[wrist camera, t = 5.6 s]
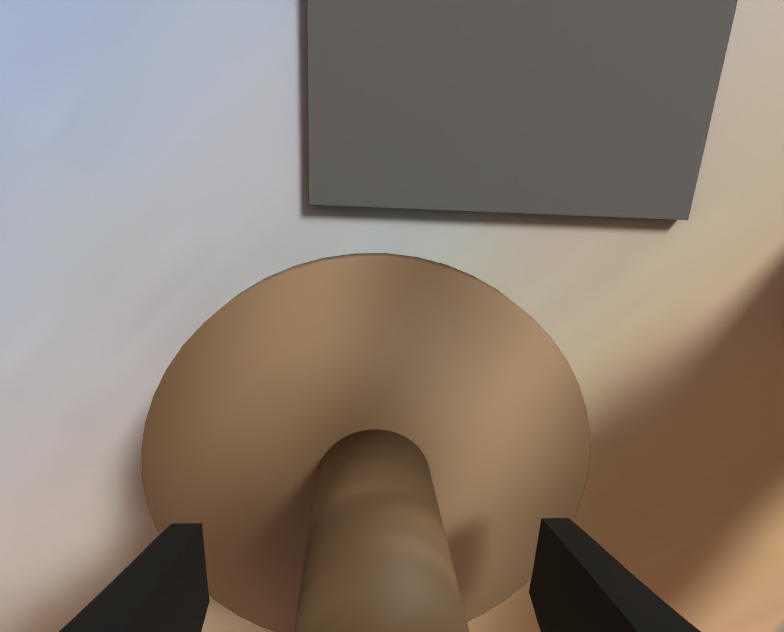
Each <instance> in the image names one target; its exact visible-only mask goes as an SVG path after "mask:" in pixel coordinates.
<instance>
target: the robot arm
mask: <svg viewBox="0 0 784 632" xmlns="http://www.w3.org/2000/svg"><path fill="white" fill-rule="evenodd" d="M529 593H530V597H531V600H532V604H533V607H534V611H535V614H536V617H537V621H538V624H539V627H540V630H541V632H701V631H699V630H698V629H697V628H695V627H694V626H693V625H692V624H690V623H689V622H688V621H687V620H686V619H684V618H683V617H682V616H681V615H679V614H678V613H677V612H676V611H675V610H673V609H672V608H671V607H670V606H669V605H667V604H666V603H665V602H664V601H663V600H662V599H660V598H659V597H658V596H657V595H656V594H654V593H653V592H652V591H651V590H650V589H649V588H648V587H646V586H645V585H644V584H643V583H642V582H641V581H639V580H638V579H637V578H636V577H635V576H634V575H633V574H631V573H630V572H629V571H628V570H627V569H626V568H625V567H624V566H622V565H621V564H620V563H619V562H618V561H617V560H616V559H615V558H613V557H612V556H611V555H610V554H609V553H608V552H607V551H606V550H604V549H603V548H602V547H601V546H600V545H599V544H598V543H597V542H596V541H594V540H593V539H592V538H591V537H590V536H589V535H588V534H587V533H585V532H584V531H583V530H582V529H581V528H580V527H579V526H577V525H576V524H575V523H574V522H573V521H572V520H570V519H569V518H541V523H540V529H539V535H538V541H537V547H536V553H535V560H534V566H533V572H532V578H531V584H530V590H529ZM208 604H209V592H208V582H207V571H206V560H205V549H204V538H203V528H202V523H174V524H171V525H169V526H168V527H167V528H166V529H165V530H164V531H163V532H162V533H161V534H160V535H159V536H158V537H157V538H156V539H155V540H154V541H153V542H152V543H151V544H150V545H149V546H148V547H147V548H146V549H145V550H144V551H143V552H142V553H141V554H140V555H139V556H138V557H137V558H136V559H135V560H134V561H133V562H132V563H131V564H130V565H129V566H128V567H127V568H125V569H124V570H123V571H122V572H121V573H120V574H119V575H118V576H117V577H116V578H115V579H114V580H113V581H112V582H111V583H110V584H109V585H108V586H107V587H106V588H105V589H104V590H103V591H102V592H101V593H100V594H99V595H98V596H97V597H95V598H94V599H93V600H92V601H91V602H90V603H89V604H88V605H87V606H86V607H85V608H84V609H83V610H82V611H81V612H80V613H79V614H78V615H77V616H75V617H74V618H73V619H72V620H71V621H70V622H69V623H68V624H67V625H66V626H65V627H64V628H62V629H61V630H60V631H59V632H201V630H202V626H203V623H204V619H205V615H206V611H207V608H208Z"/></svg>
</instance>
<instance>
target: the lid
mask: <svg viewBox="0 0 784 632" xmlns="http://www.w3.org/2000/svg"><path fill="white" fill-rule="evenodd" d="M589 461H590V431H589V424H588V417H587V410H586V406H585V403H584V400H583V397H582V393H581V390H580V387H579V384H578V382H577V380H576V378H575V376H574V374H573V371H572V369H571V367H570V365H569V363H568V361H567V359H566V358H565V357H564V355H563V354H562V352H561V351H560V349H559V348H558V346H557V345H556V344H555V342H554V341H553V339H552V338H551V337H550V336H549V335H548V334H547V332H546V331H545V330H544V329H543V328H542V327H541V326H540V325H539V324H538V323H537V322H536V321H535V320H534V319H533V318H532V317H531V316H530V315H529V314H528V313H526V312H525V311H524V310H523V309H521V308H520V307H519V306H517V305H516V304H515V303H514V302H512V301H511V300H510V299H509V298H507V297H506V296H505V295H503V294H502V293H501V292H499V291H498V290H496V289H495V288H493V287H491V286H490V285H488V284H486V283H484V282H483V281H481V280H479V279H478V278H476V277H474V276H472V275H470V274H467V273H465V272H462V271H460V270H458V269H455V268H453V267H450V266H448V265H445V264H441V263H437V262H434V261H430V260H426V259H422V258H418V257H412V256H404V255H396V254H387V253H366V254H348V255H341V256H334V257H327V258H322V259H318V260H314V261H311V262H307V263H304V264H300V265H296V266H293V267H291V268H288V269H286V270H284V271H281V272H279V273H277V274H274V275H272V276H269V277H267V278H265V279H263V280H261V281H260V282H258V283H256V284H255V285H253V286H251V287H250V288H248V289H246V290H245V291H243V292H241V293H240V294H238V295H237V296H236V297H234V298H233V299H232V300H231V301H229V302H228V303H227V304H226V305H225V306H223V307H222V308H221V309H220V310H218V311H217V312H216V313H215V314H214V315H212V316H211V317H210V318H209V319H208V320H207V321H206V322H204V323H203V325H202V326H201V327H200V328H199V329H198V330H197V331H196V332H195V333H194V334H193V335H192V336H191V337H190V338H189V340H188V341H187V342H186V343H185V344H184V345H183V346H182V348H181V349H180V351H179V352H178V353H177V355H176V356H175V358H174V359H173V361H172V362H171V364H170V365H169V367H168V368H167V369H166V371H165V373H164V375H163V377H162V379H161V382H160V384H159V386H158V388H157V390H156V392H155V394H154V396H153V399H152V403H151V406H150V409H149V412H148V416H147V419H146V422H145V429H144V436H143V444H142V477H143V483H144V488H145V493H146V499H147V503H148V506H149V509H150V512H151V515H152V517H153V520H154V523H155V526H156V528H157V530H158V532H159V534H161V533H162V532H163V531H164V530H165V529H166V528H167V527H168V526H169V525H171V524H174V523H202V528H203V538H204V549H205V560H206V571H207V582H208V592H209V595H210V596H211V597H212V598H213V599H215V600H216V601H217V602H218V603H220V604H221V605H223V606H224V607H226V608H228V609H229V610H231V611H232V612H234V613H235V614H237V615H239V616H240V617H242V618H244V619H246V620H249V621H251V622H253V623H255V624H257V625H259V626H261V627H263V628H266V629H269V630H272V631H274V632H469V629H468V625H467V622H468V621H470V620H472V619H474V618H476V617H478V616H480V615H482V614H484V613H485V612H487V611H489V610H490V609H492V608H493V607H495V606H497V605H498V604H500V603H501V602H503V601H504V600H506V599H507V598H508V597H510V596H511V595H512V594H513V593H515V592H516V591H517V590H518V589H520V588H521V587H522V586H523V585H525V584H526V583H527V582H528V581H529V580H530V579H531V578H532V572H533V566H534V560H535V553H536V547H537V541H538V535H539V529H540V523H541V518H569V519H570V520H572V521H573V519H574V517H575V514H576V512H577V510H578V508H579V505H580V502H581V499H582V495H583V492H584V488H585V485H586V481H587V474H588V468H589Z"/></svg>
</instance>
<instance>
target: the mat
mask: <svg viewBox="0 0 784 632" xmlns="http://www.w3.org/2000/svg"><path fill="white" fill-rule="evenodd" d="M737 1H738V0H307V22H308V135H309V205H333V206H357V207H382V208H406V209H430V210H455V211H479V212H503V213H527V214H552V215H576V216H600V217H624V218H649V219H673V220H688V218H689V213H690V209H691V205H692V200H693V196H694V191H695V187H696V182H697V178H698V174H699V169H700V165H701V160H702V156H703V151H704V147H705V143H706V138H707V134H708V129H709V125H710V120H711V116H712V112H713V107H714V103H715V98H716V94H717V89H718V85H719V81H720V76H721V72H722V67H723V63H724V58H725V54H726V50H727V45H728V41H729V36H730V32H731V27H732V23H733V19H734V14H735V10H736V5H737Z"/></svg>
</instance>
